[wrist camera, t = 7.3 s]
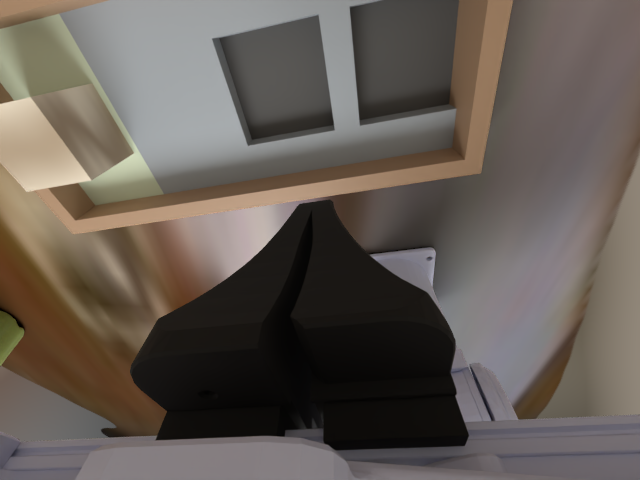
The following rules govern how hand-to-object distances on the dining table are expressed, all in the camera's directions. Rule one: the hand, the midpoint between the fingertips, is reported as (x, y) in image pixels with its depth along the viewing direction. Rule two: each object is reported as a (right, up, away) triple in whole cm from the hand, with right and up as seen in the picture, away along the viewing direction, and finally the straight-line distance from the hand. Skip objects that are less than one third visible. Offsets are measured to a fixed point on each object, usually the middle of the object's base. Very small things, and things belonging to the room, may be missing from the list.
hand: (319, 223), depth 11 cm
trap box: (-5, +8, +6) cm, 11 cm away
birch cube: (-14, +6, +6) cm, 16 cm away
